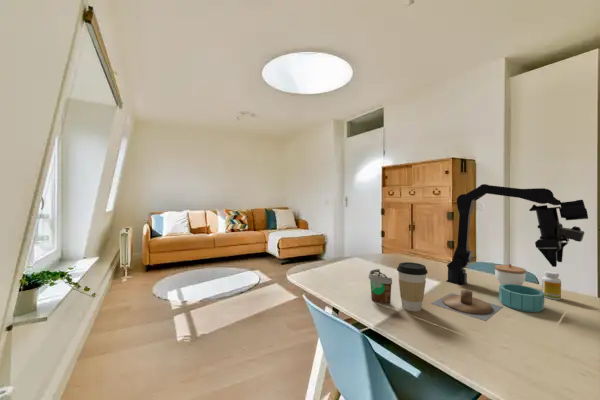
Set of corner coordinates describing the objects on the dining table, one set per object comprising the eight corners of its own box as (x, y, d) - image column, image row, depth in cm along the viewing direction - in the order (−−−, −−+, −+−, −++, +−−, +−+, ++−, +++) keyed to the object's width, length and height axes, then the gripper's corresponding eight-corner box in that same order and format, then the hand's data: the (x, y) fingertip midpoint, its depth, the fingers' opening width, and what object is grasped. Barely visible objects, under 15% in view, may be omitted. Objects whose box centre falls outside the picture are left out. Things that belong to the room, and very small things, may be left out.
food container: (363, 294, 107) (364, 269, 107) (378, 293, 107) (379, 268, 107) (375, 307, 95) (375, 278, 94) (392, 306, 95) (392, 278, 95)
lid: (434, 303, 97) (435, 290, 96) (452, 294, 106) (452, 281, 106) (483, 318, 85) (483, 303, 85) (498, 306, 94) (498, 292, 94)
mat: (430, 304, 97) (430, 303, 97) (451, 293, 107) (451, 292, 107) (485, 322, 83) (485, 320, 83) (502, 307, 94) (502, 306, 94)
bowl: (494, 305, 96) (495, 288, 96) (505, 297, 104) (505, 281, 104) (539, 317, 87) (539, 298, 87) (546, 307, 94) (547, 290, 94)
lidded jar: (514, 282, 122) (514, 261, 122) (532, 290, 111) (532, 267, 111) (489, 281, 123) (489, 260, 123) (504, 289, 112) (504, 267, 112)
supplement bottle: (564, 300, 101) (565, 274, 100) (548, 299, 102) (548, 273, 101) (554, 295, 106) (554, 270, 106) (538, 294, 107) (538, 270, 107)
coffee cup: (425, 304, 96) (426, 263, 96) (429, 316, 87) (429, 270, 87) (396, 301, 100) (396, 260, 99) (396, 312, 90) (397, 267, 90)
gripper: (574, 222, 88) (585, 270, 86) (583, 217, 99) (593, 260, 98) (530, 224, 97) (539, 268, 95) (543, 220, 108) (552, 259, 106)
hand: (557, 264), depth 98 cm, fingers open, 9 cm apart
